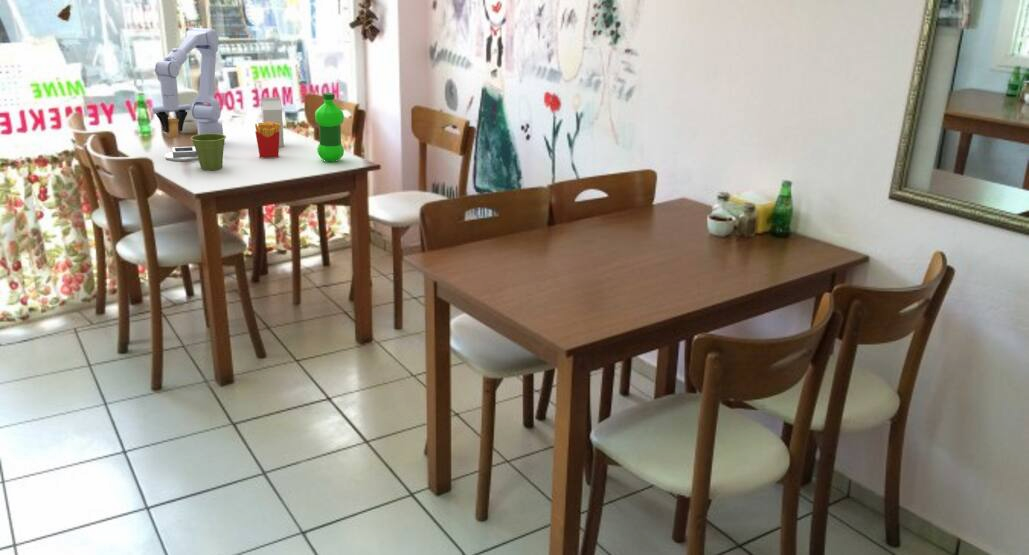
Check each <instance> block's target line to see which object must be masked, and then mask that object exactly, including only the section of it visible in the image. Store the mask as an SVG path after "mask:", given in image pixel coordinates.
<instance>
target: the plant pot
mask: <svg viewBox="0 0 1029 555" xmlns="http://www.w3.org/2000/svg"><path fill="white" fill-rule="evenodd" d="M226 138H227V136H226V135H225V134H223V135H222V134H199V135H198V134H195V135H192V136H190V140H192V144H193V147H194V146H195V149H196V152H197V156H198V159H199V160H198V162H199V165H200V169H201V170H203V171H206V170H207V171H208V170H210V171H216V170H220V169H221V168H223V165H224V164H223V163H224V147H225V141H226Z"/></svg>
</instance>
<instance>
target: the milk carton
mask: <svg viewBox="0 0 1029 555" xmlns="http://www.w3.org/2000/svg"><path fill="white" fill-rule="evenodd" d="M260 98H261V103H260V108H261V110H260V112H261V123H267V122H272V124H273V122H276V123H280V125H281V126H280V130H279V132H280V133H279V148H282V147H283V146H284V147H285V142H284V140H285V139H284V127H283V125H284V124H283V108H282V104H281V97H260Z"/></svg>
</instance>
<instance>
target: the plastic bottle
mask: <svg viewBox="0 0 1029 555" xmlns="http://www.w3.org/2000/svg"><path fill="white" fill-rule="evenodd" d="M335 98H336V96H335V93H334V92H323V93H322V99H323V100H324V103H323V104H321V105H320V106H319V107H318V108H317V109H316V110H315V112H314V118H315V122H316V123H317V124H318V133H319V135H318V136H319V143H318V146H317V148H316V149H317V155H318V156H319V157H320V159H322V160H323V161H324V160H325V161H336V160H338V161H340V159H342V157H343V156H344V155H345V154H344V153H345V149H344V147H343V145H342V132H341V131H342V129H341V125H342V124H343V123H344V120H345V116H344V112H343V110H342V109H340V108H339V106H337V105H336V104H335V103H334V100H336V99H335ZM325 161H324V162H325Z"/></svg>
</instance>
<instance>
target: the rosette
mask: <svg viewBox="0 0 1029 555" xmlns="http://www.w3.org/2000/svg"><path fill="white" fill-rule="evenodd" d="M171 151H172V152H170V151H169V152H167V153H166V154H165V159H166V160H167V161H171V162H177V161H179V162H182V163H183V162H184V161H185V163H186V162H194V161H199V159H198V156H197V152H196V149H195V146H194V145H193V146H178V147H177V146H176V147H171Z"/></svg>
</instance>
